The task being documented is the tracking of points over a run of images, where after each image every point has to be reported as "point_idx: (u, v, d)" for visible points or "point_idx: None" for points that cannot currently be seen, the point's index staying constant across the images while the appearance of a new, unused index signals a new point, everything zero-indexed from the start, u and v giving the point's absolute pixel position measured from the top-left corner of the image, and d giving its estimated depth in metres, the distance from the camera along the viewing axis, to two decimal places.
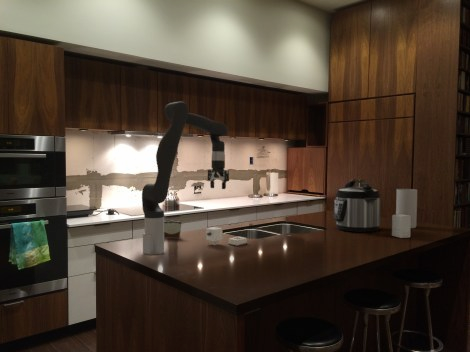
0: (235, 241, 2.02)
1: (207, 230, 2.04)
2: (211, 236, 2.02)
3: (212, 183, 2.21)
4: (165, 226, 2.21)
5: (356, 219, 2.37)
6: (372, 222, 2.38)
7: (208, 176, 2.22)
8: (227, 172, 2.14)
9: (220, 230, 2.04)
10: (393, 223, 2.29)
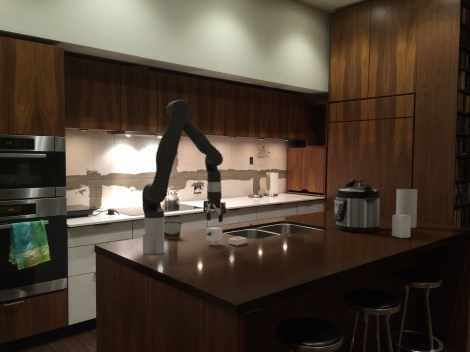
0: (235, 241, 2.02)
1: (207, 230, 2.04)
2: (211, 236, 2.02)
3: (208, 215, 2.07)
4: (165, 226, 2.21)
5: (356, 219, 2.37)
6: (372, 222, 2.38)
7: (204, 207, 2.08)
8: (224, 204, 2.00)
9: (220, 230, 2.04)
10: (393, 223, 2.29)
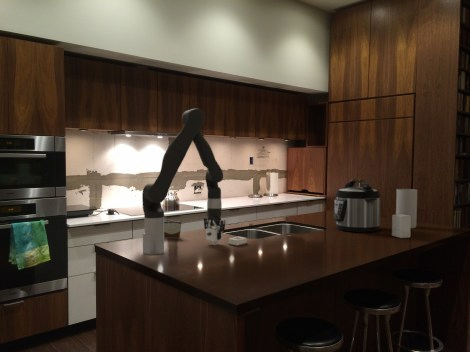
0: (235, 241, 2.02)
1: (207, 230, 2.04)
2: (211, 236, 2.02)
3: None
4: (165, 226, 2.21)
5: (356, 219, 2.37)
6: (372, 222, 2.38)
7: (205, 225, 2.08)
8: (224, 222, 2.00)
9: None
10: (393, 223, 2.29)
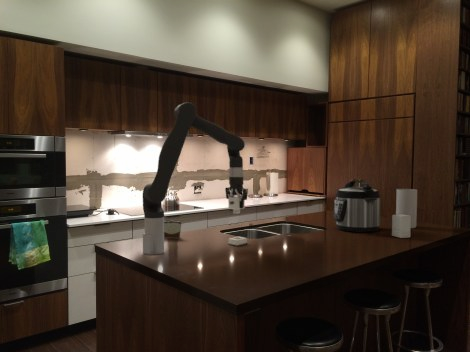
0: (235, 241, 2.02)
1: (229, 199, 2.05)
2: (234, 205, 2.03)
3: None
4: (165, 226, 2.21)
5: (356, 219, 2.37)
6: (372, 222, 2.38)
7: (226, 194, 2.08)
8: (246, 191, 2.01)
9: None
10: (393, 223, 2.29)
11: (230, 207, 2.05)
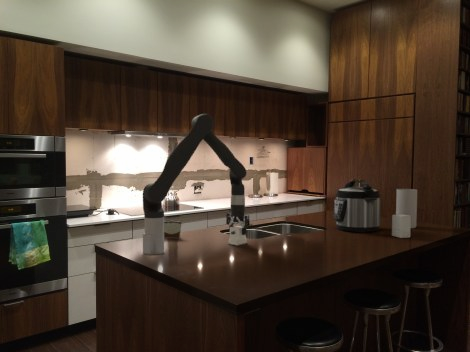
0: (235, 241, 2.02)
1: (231, 229, 2.05)
2: (235, 235, 2.03)
3: None
4: (165, 226, 2.21)
5: (356, 219, 2.37)
6: (372, 222, 2.38)
7: (227, 220, 2.09)
8: (248, 217, 2.01)
9: None
10: (393, 223, 2.29)
11: (231, 237, 2.05)
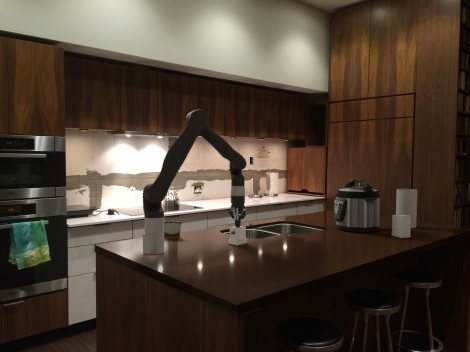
0: (235, 241, 2.02)
1: (231, 229, 2.05)
2: (235, 235, 2.03)
3: None
4: (165, 226, 2.21)
5: (356, 219, 2.37)
6: (372, 222, 2.38)
7: (231, 214, 2.07)
8: (246, 213, 2.02)
9: (244, 229, 2.05)
10: (393, 223, 2.29)
11: (231, 237, 2.05)
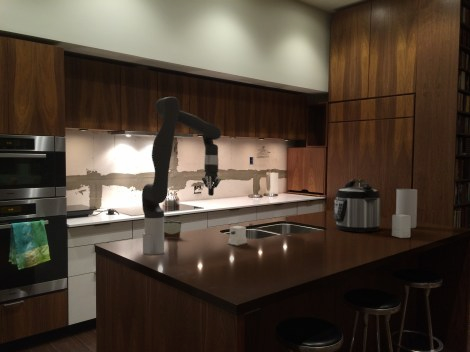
0: (235, 241, 2.02)
1: (231, 229, 2.05)
2: (235, 235, 2.03)
3: None
4: (165, 226, 2.21)
5: (356, 219, 2.37)
6: (372, 222, 2.38)
7: (205, 183, 2.13)
8: (218, 181, 2.08)
9: (244, 229, 2.05)
10: (393, 223, 2.29)
11: (231, 237, 2.05)
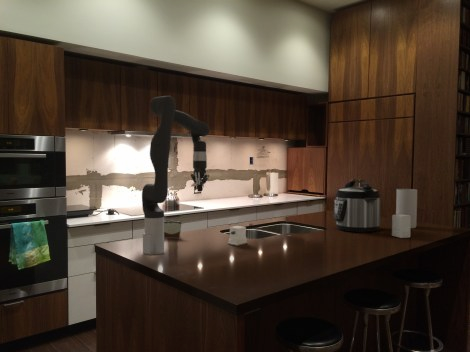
0: (235, 241, 2.02)
1: (231, 229, 2.05)
2: (235, 235, 2.03)
3: None
4: (165, 226, 2.21)
5: (356, 219, 2.37)
6: (372, 222, 2.38)
7: (193, 179, 2.16)
8: (207, 177, 2.11)
9: (244, 229, 2.05)
10: (393, 223, 2.29)
11: (231, 237, 2.05)
